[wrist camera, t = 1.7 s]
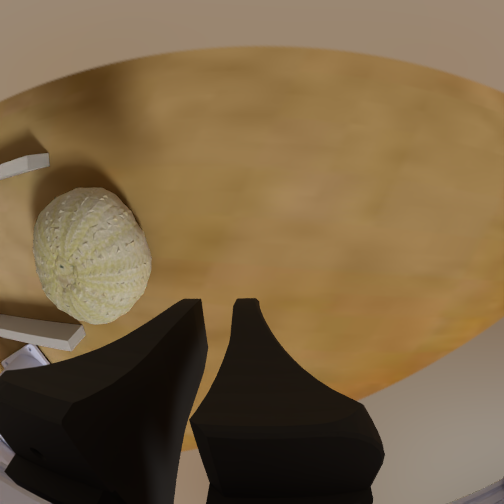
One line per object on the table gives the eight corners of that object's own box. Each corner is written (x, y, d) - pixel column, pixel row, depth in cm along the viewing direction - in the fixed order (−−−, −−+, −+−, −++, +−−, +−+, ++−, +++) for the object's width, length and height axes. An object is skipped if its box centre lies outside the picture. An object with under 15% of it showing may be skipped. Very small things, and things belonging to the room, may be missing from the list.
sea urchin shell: (34, 296, 20) (-15, 258, 13) (79, 215, 23) (52, 155, 16) (130, 348, 20) (106, 331, 13) (171, 255, 24) (171, 201, 17)
